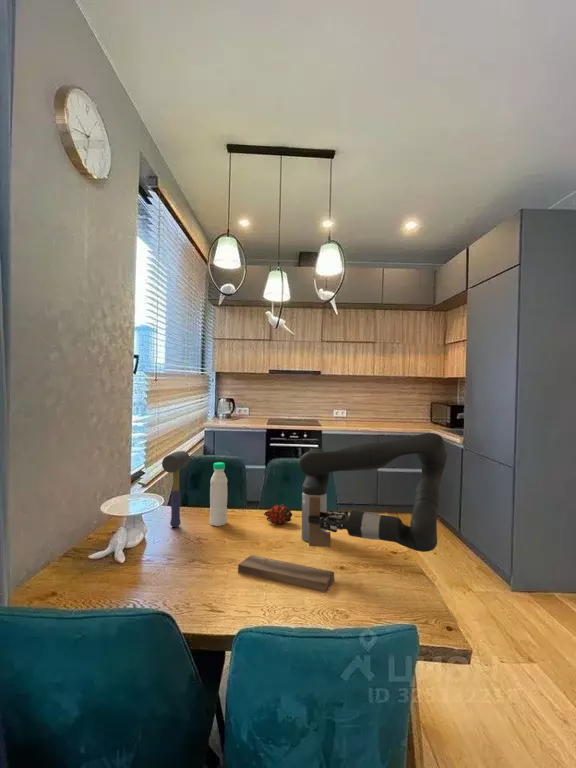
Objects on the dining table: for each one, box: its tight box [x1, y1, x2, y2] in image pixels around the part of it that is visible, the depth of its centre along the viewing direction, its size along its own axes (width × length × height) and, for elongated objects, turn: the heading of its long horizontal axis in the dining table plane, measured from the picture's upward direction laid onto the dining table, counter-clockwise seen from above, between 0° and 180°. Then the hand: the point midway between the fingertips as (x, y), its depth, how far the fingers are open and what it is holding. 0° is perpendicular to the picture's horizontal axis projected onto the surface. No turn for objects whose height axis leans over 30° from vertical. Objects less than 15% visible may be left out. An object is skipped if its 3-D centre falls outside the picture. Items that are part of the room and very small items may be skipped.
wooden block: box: [308, 495, 331, 548], centre depth 129 cm, size 7×3×15 cm, turn 86°
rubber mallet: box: [161, 450, 191, 528], centre depth 165 cm, size 12×8×30 cm, turn 170°
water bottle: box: [209, 461, 228, 527], centre depth 170 cm, size 7×7×25 cm
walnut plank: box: [237, 554, 335, 593], centre depth 124 cm, size 8×28×3 cm, turn 66°
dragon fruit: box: [263, 503, 293, 526], centre depth 172 cm, size 8×8×12 cm
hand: (311, 516), depth 129 cm, fingers closed on wooden block, 4 cm apart
